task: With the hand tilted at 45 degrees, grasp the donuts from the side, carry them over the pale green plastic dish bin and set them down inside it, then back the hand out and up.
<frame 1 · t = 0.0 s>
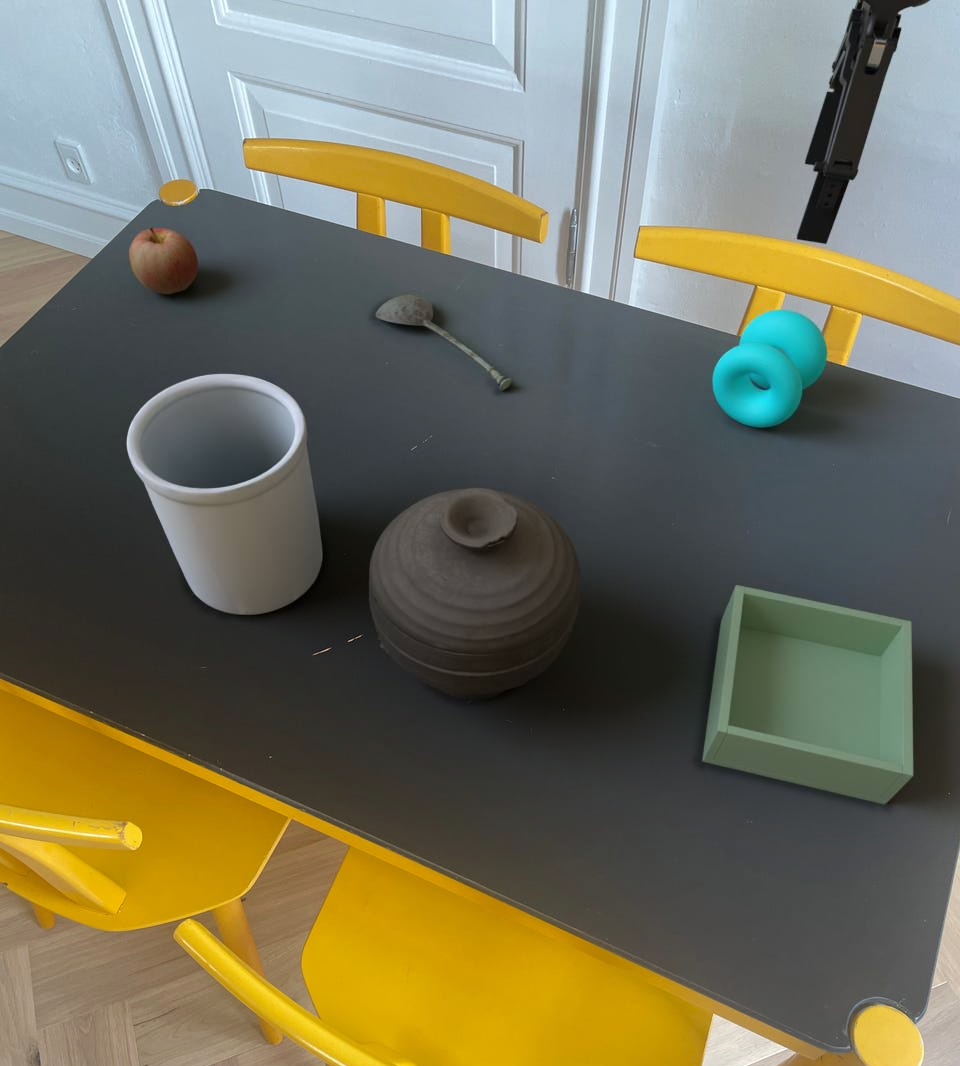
hand: (815, 200, 86), 23 cm above the table, tool pointing down, fingers open, 13 cm apart
dish bin: (797, 707, 81), on the table
utensil holder: (256, 561, 90), on the table
apple: (171, 288, 114), on the table
soupspoon: (443, 347, 108), on the table
donuts: (756, 405, 103), on the table
pot: (473, 653, 84), on the table
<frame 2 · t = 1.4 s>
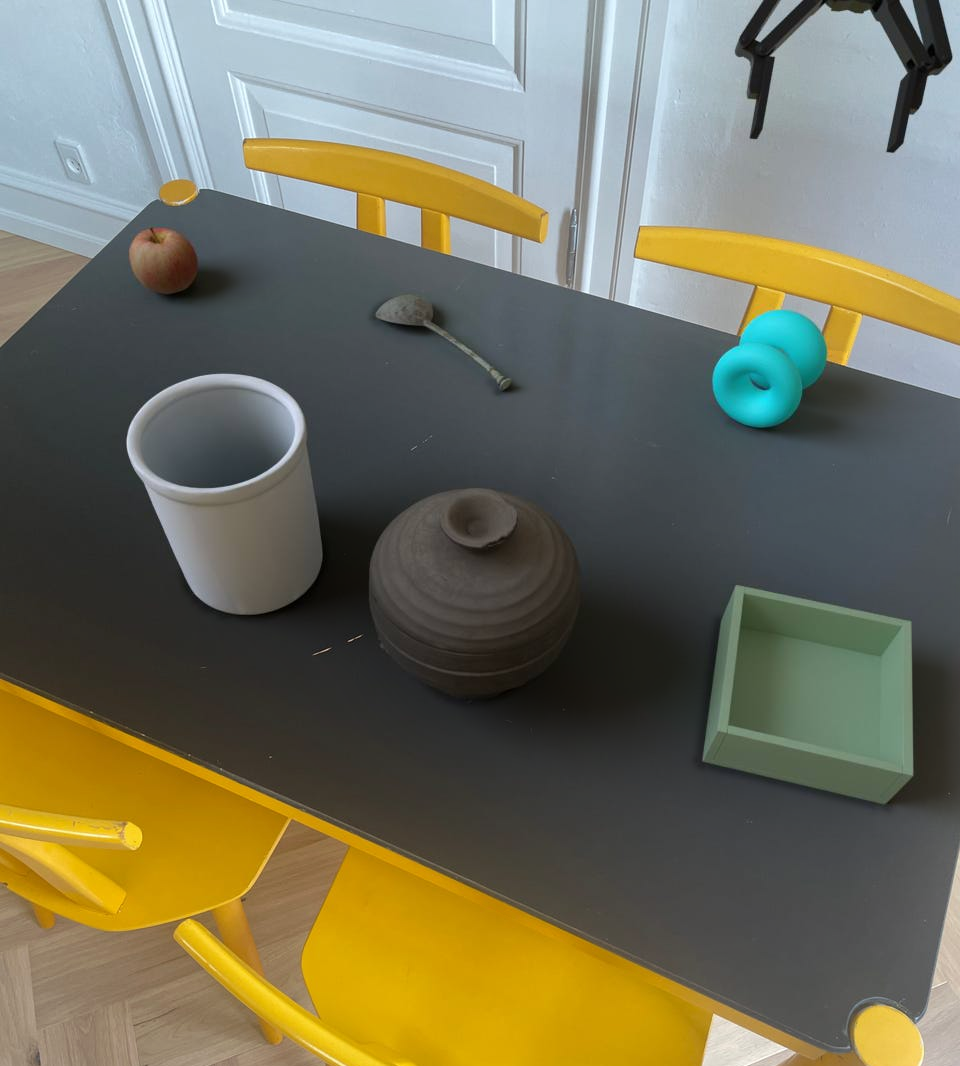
hand: (824, 141, 88), 25 cm above the table, tool tilted 45°, fingers open, 13 cm apart
nothing on the table moved.
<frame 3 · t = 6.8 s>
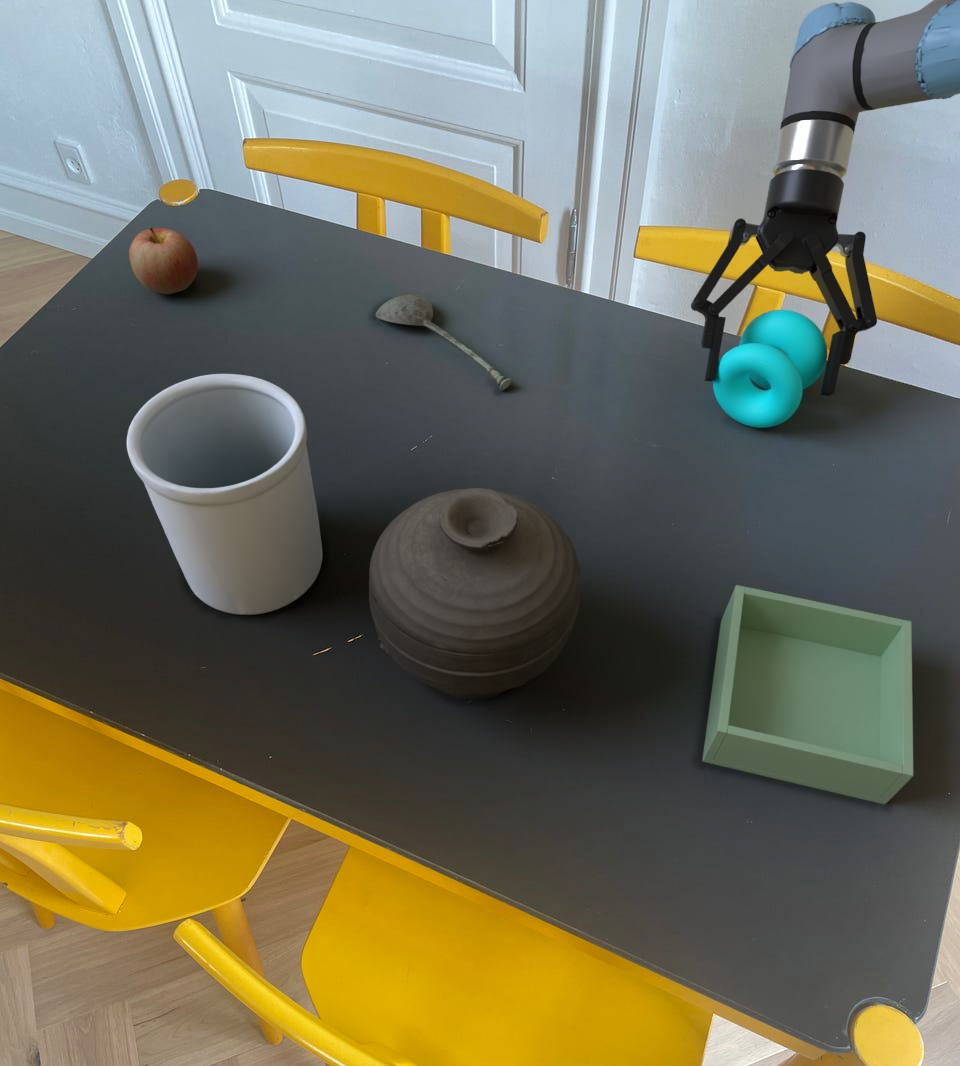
hand: (768, 387, 98), 4 cm above the table, tool tilted 45°, fingers closed on donuts, 12 cm apart
donuts: (756, 405, 103), on the table, touching gripper
everything else where it was.
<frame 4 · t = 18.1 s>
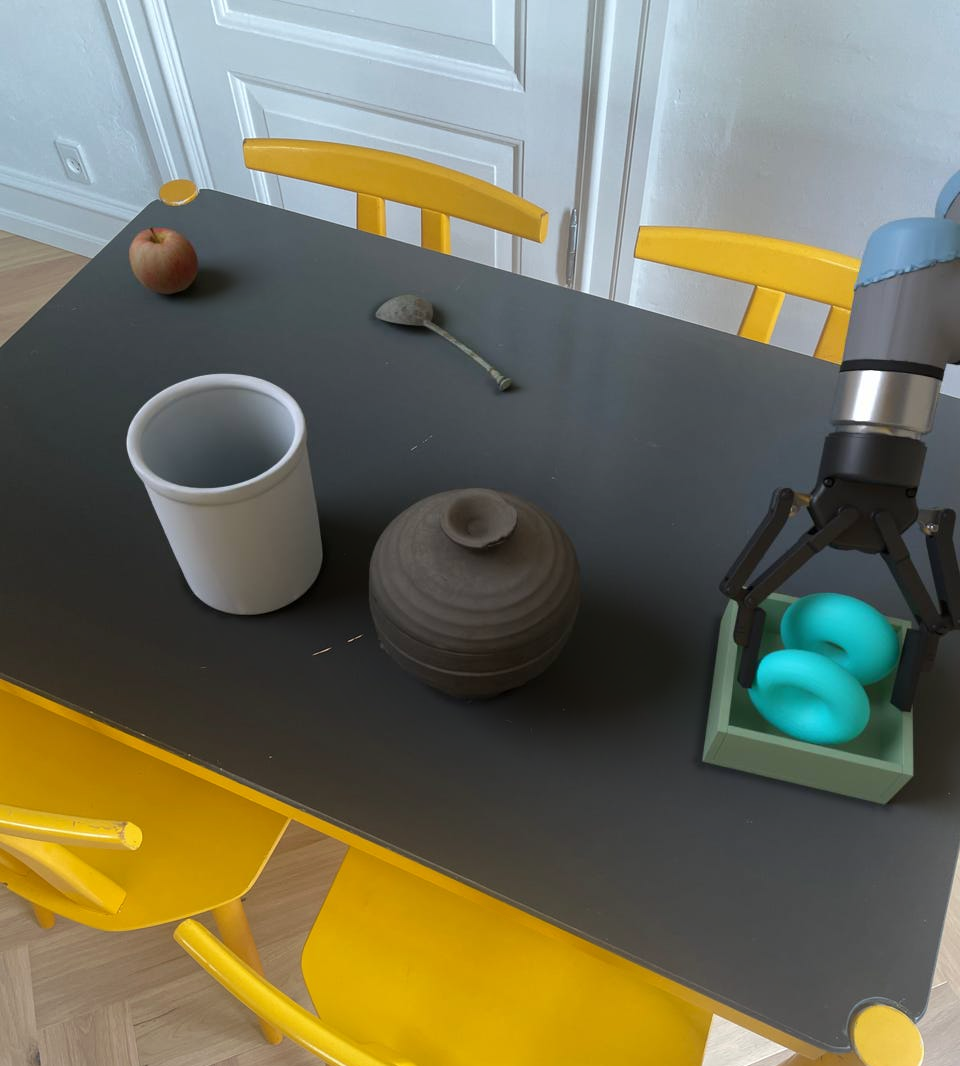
hand: (821, 696, 74), 6 cm above the table, tool tilted 45°, fingers closed on donuts, 12 cm apart
donuts: (803, 698, 80), point 1 cm above the table, touching gripper
everything else where it was.
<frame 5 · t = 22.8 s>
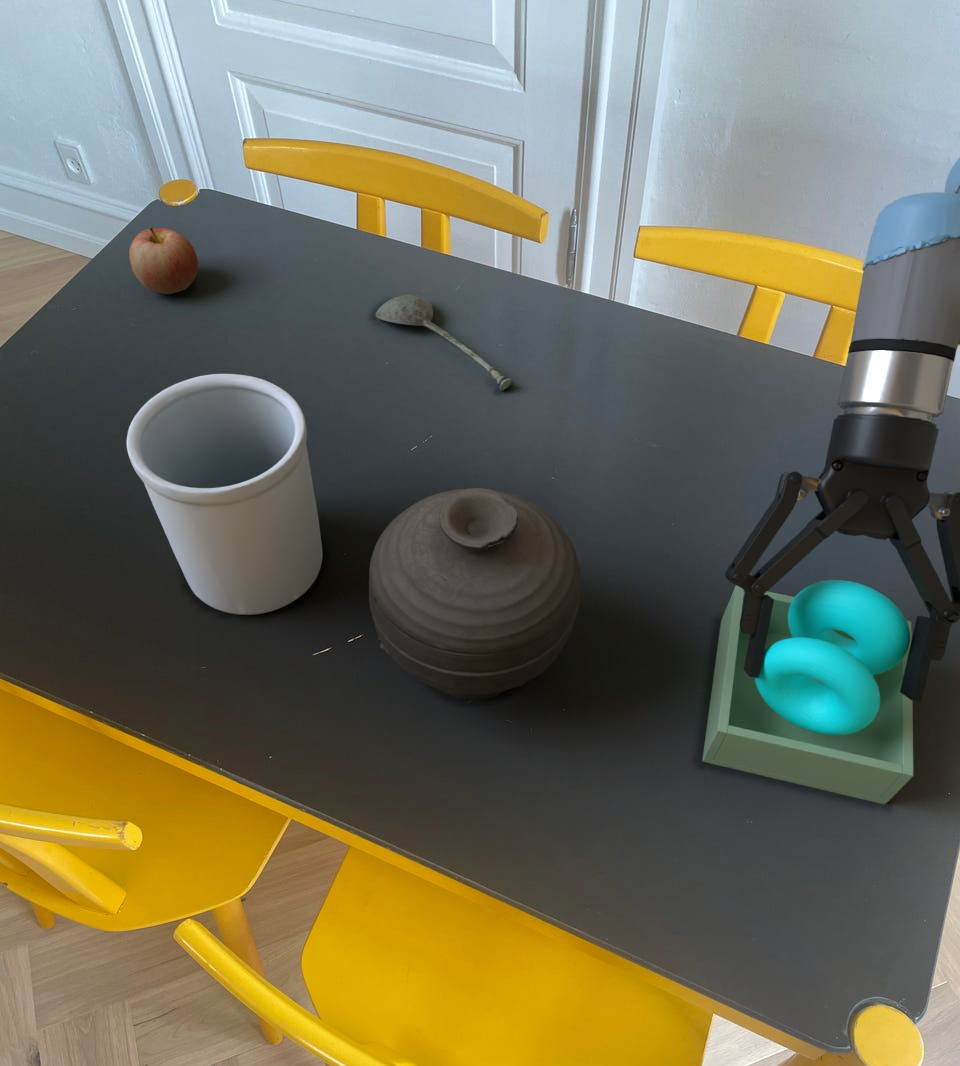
hand: (830, 685, 73), 8 cm above the table, tool tilted 45°, fingers closed on donuts, 12 cm apart
donuts: (811, 689, 78), point 3 cm above the table, touching gripper
everything else where it was.
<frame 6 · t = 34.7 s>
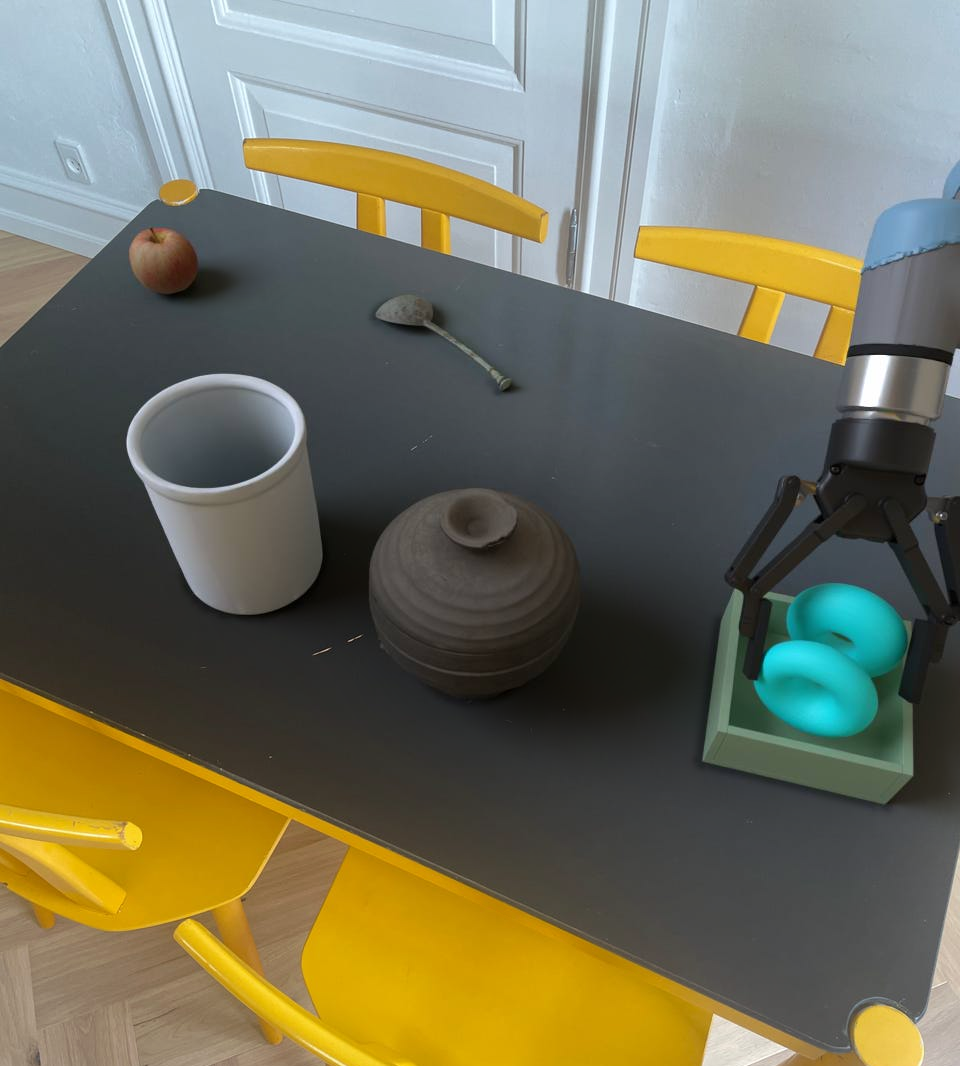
hand: (828, 688, 73), 8 cm above the table, tool tilted 45°, fingers closed on donuts, 12 cm apart
donuts: (809, 691, 78), point 3 cm above the table, touching gripper
everything else where it was.
when the fingers open (8 cm above the table, at t = 38.8 s): donuts drops 3 cm, resting on dish bin.
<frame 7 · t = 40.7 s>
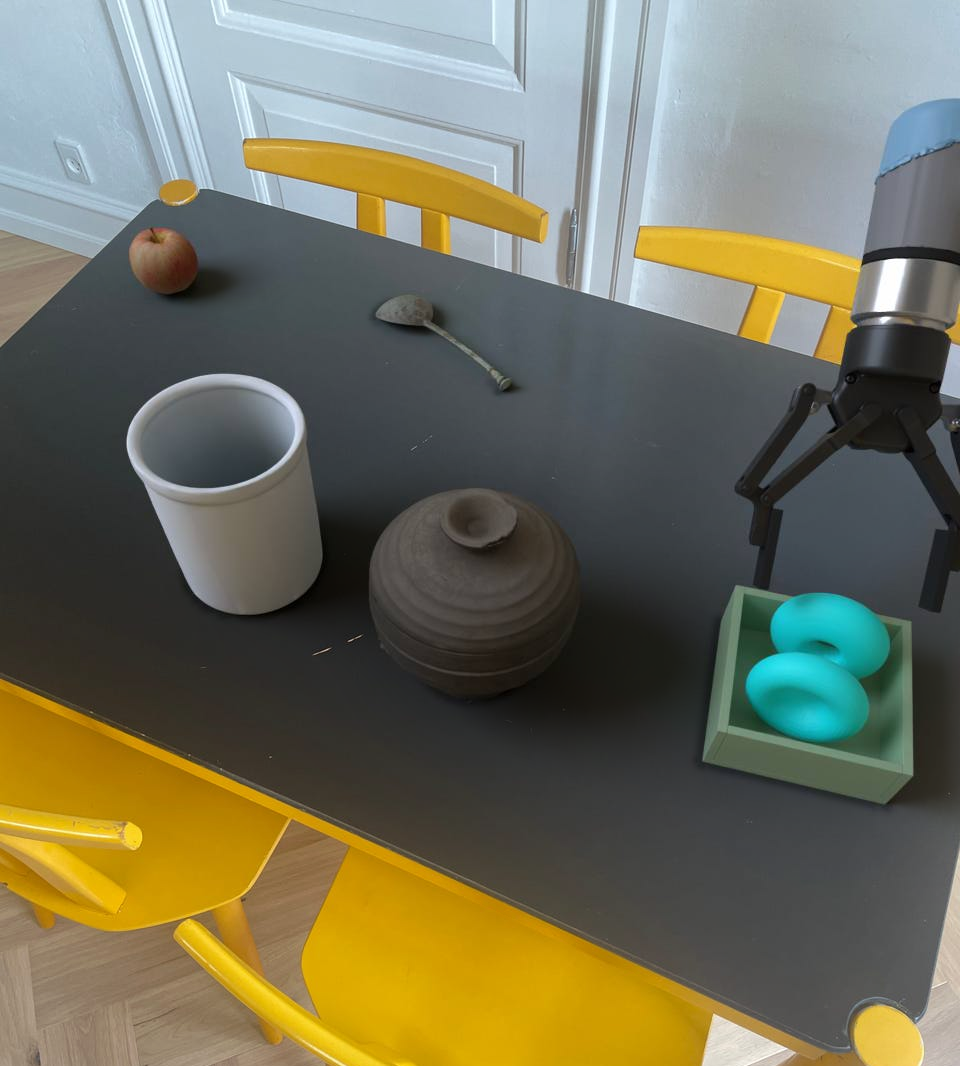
hand: (844, 599, 73), 12 cm above the table, tool tilted 45°, fingers open, 13 cm apart
donuts: (798, 697, 81), point 1 cm above the table, touching dish bin
everything else where it was.
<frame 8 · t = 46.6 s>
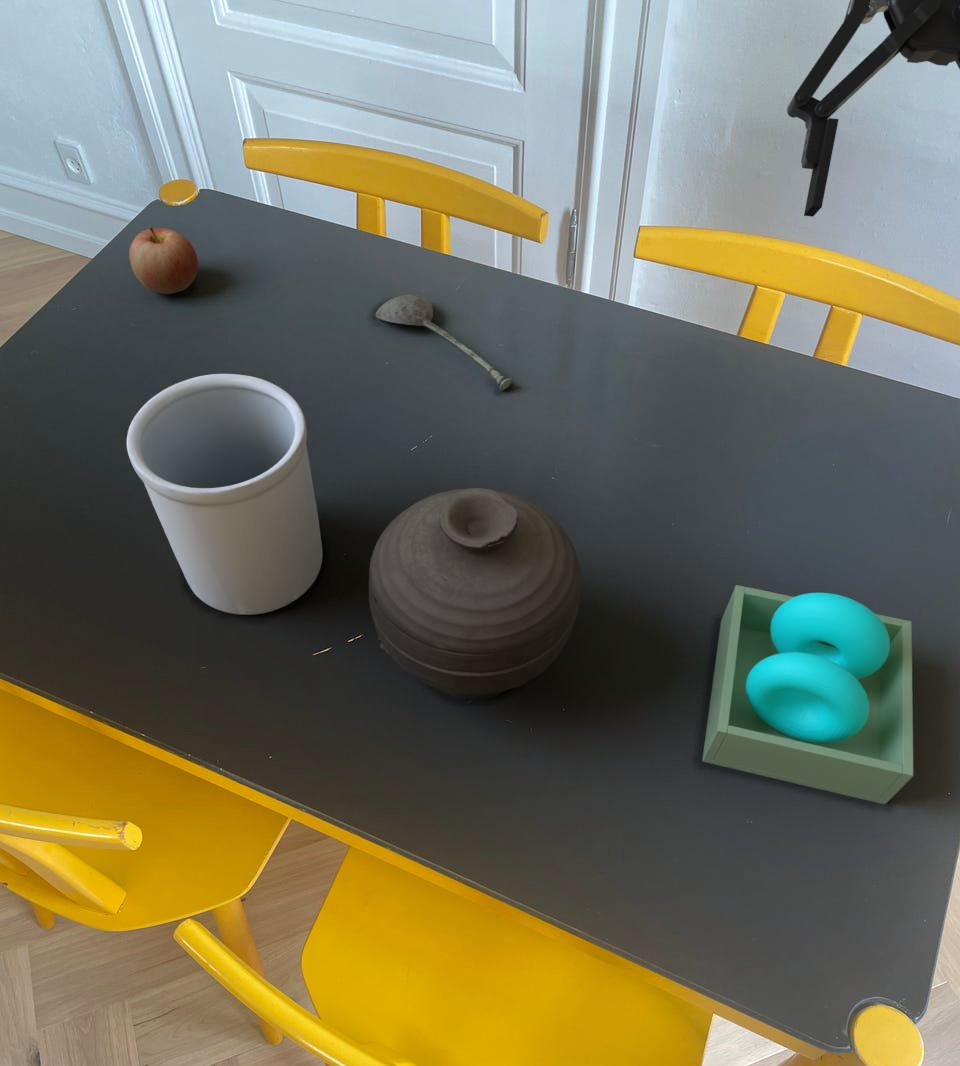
hand: (897, 221, 72), 30 cm above the table, tool tilted 45°, fingers open, 13 cm apart
nothing on the table moved.
at the end: donuts inside the target area in the dish bin (0.6 cm from its centre), point 0.6 cm above the dish bin's base; the gripper is holding nothing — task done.
